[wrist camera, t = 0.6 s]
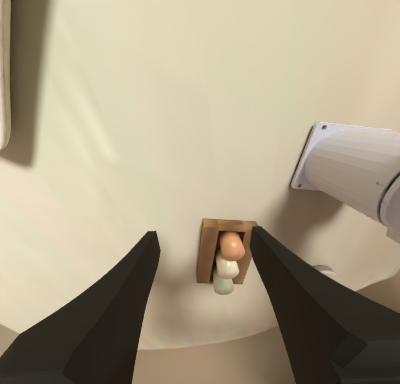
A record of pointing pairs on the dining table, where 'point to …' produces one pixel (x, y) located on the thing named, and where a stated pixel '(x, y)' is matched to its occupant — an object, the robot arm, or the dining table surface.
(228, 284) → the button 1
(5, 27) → the salad plate
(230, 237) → the button
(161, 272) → the dining table surface
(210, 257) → the panel
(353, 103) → the dining table surface
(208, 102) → the dining table surface
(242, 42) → the dining table surface
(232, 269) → the button mid
